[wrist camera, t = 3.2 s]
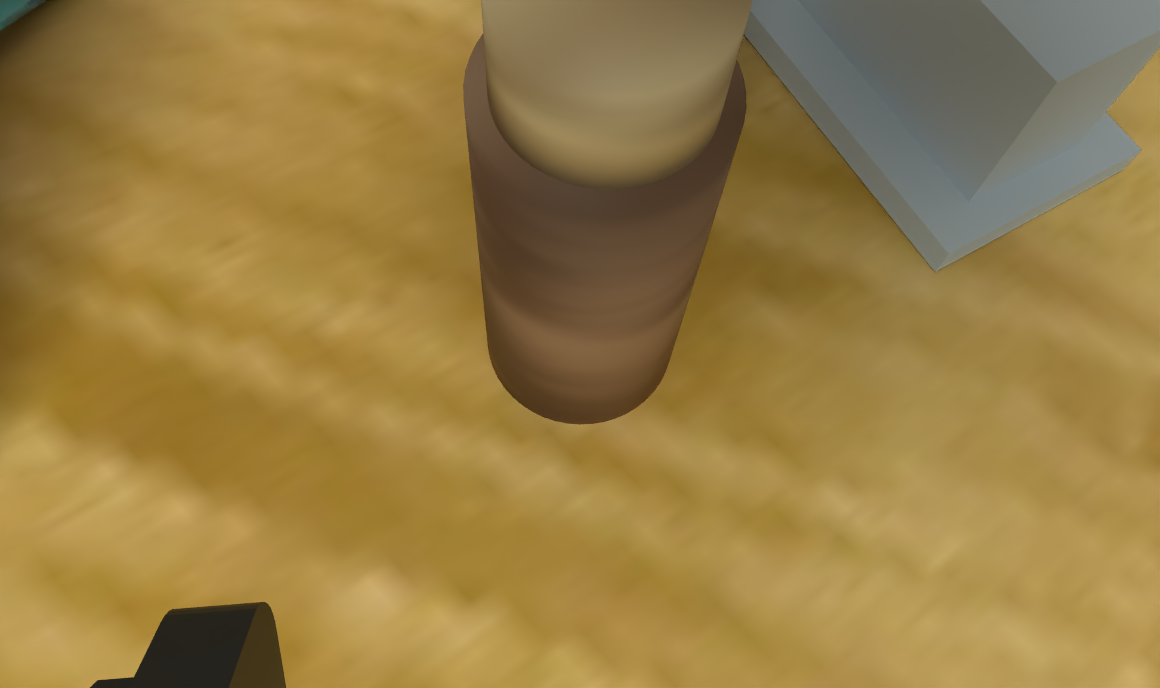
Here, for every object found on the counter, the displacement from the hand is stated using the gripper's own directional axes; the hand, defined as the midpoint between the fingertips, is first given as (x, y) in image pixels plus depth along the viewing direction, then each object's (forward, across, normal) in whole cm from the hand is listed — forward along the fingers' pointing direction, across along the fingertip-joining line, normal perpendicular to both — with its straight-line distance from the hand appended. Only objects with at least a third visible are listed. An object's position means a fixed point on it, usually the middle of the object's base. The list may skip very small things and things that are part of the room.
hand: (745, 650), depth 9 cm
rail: (+26, -9, -5) cm, 28 cm away
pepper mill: (+17, 0, +4) cm, 18 cm away
